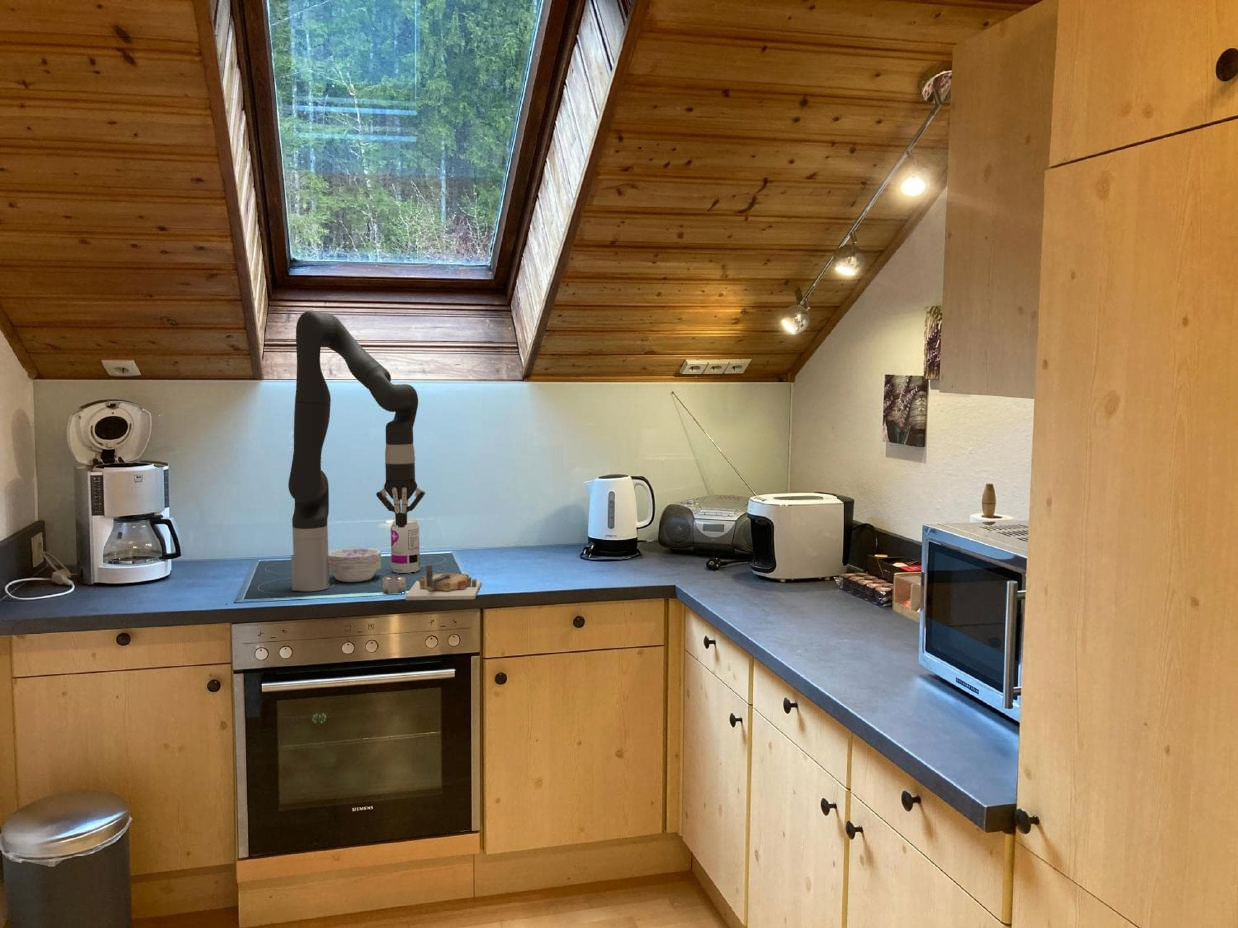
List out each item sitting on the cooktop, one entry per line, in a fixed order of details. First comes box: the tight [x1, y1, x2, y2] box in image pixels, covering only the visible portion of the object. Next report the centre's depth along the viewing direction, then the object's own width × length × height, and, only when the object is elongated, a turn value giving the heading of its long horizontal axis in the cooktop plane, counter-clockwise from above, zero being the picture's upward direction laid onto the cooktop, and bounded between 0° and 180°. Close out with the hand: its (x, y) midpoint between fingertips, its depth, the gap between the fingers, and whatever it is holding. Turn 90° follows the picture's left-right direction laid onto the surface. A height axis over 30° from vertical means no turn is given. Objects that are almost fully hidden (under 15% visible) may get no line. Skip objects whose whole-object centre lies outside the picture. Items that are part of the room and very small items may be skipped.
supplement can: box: [390, 519, 421, 574], centre depth 304 cm, size 8×8×15 cm
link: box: [382, 575, 407, 595], centre depth 277 cm, size 3×6×4 cm, turn 93°
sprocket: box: [418, 564, 472, 591], centre depth 278 cm, size 14×16×7 cm
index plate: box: [404, 578, 482, 601], centre depth 278 cm, size 18×19×3 cm
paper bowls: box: [328, 548, 382, 583], centre depth 294 cm, size 15×15×8 cm
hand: (401, 527), depth 269 cm, fingers closed
